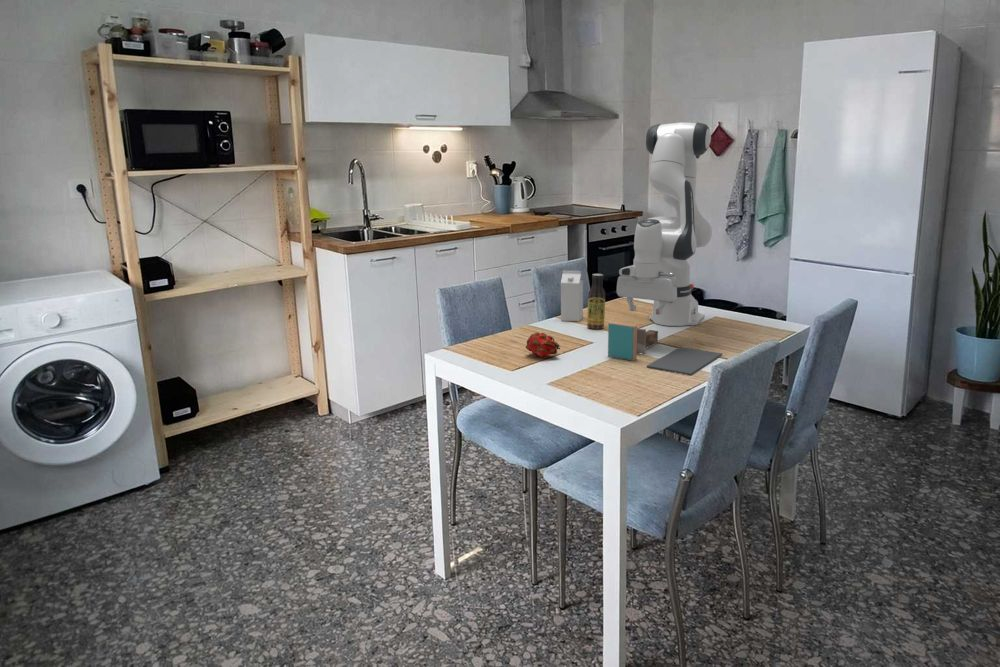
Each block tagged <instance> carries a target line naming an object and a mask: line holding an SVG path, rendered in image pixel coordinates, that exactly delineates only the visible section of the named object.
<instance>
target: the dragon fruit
mask: <svg viewBox="0 0 1000 667" xmlns="http://www.w3.org/2000/svg"><path fill="white" fill-rule="evenodd" d="M559 344H560V343H558V342H557V341H555V338H554V337H553V336H550V335H547V334H546V333H544V332H541V333H540V332H537V331H536V332H534V333H532V334H530V336H529V337H528V339H527V340H526V346H525V348H526V350H527V351H528V352H531V353H532V356H533V357H534V358H536V357H537V356H538V357H541V358H544V357H547V358H548V359H552V356H549V355H557V353H558V350H561V346H560V345H559ZM547 358H546V359H547ZM544 359H545V358H544Z"/></svg>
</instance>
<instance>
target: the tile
mask: <svg viewBox="0 0 1000 667" xmlns="http://www.w3.org/2000/svg"><path fill="white" fill-rule="evenodd" d="M607 323H608V324H607V327H608V328H607V329H608V331H607V336H608V337H607V356H608V357H610V358H614V357H615V358H616V359H621V358H622V359H621V360H625V359H627V361H631V360H632V362H634V361H636V360H637V356H638V355H637V354H638V353H637V328H638V325H636V324H631V323H630V324H629V323H624V322H623V323H622V322H617V321H610V322H607ZM635 359H636V360H635ZM633 360H634V361H633Z"/></svg>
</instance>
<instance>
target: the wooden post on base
mask: <svg viewBox="0 0 1000 667" xmlns="http://www.w3.org/2000/svg"><path fill="white" fill-rule="evenodd" d="M658 339H659V331H658V330H654V329H653V330H652V329H649V330H647V329H645V328H638V327H637V354H639V353H642V354H641V355H645V354H646V350H647V349H648V348H650V347H651V345H652V346H654V345H655V344H657V343H658V341H659V340H658ZM653 344H654V345H653ZM649 346H650V347H649ZM647 347H648V348H647Z"/></svg>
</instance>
